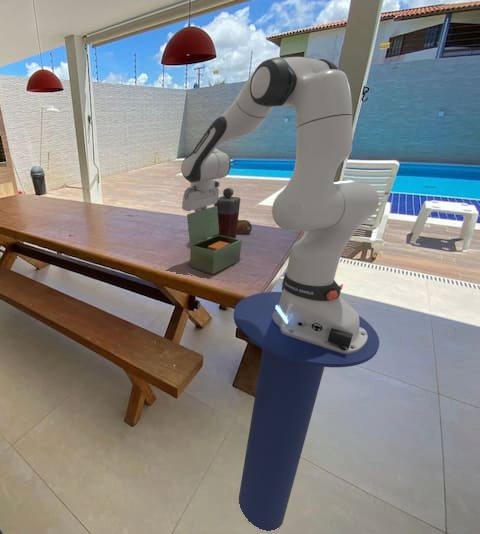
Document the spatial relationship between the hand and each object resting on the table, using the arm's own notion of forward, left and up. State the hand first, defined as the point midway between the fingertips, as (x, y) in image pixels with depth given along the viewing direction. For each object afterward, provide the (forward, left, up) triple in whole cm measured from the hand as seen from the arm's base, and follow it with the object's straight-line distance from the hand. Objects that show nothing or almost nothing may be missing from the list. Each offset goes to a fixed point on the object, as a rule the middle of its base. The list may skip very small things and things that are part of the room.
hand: (199, 217), depth 132 cm
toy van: (-10, -1, -18) cm, 21 cm away
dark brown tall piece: (+3, -25, -19) cm, 32 cm away
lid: (-3, 0, -3) cm, 4 cm away
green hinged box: (-9, 0, -19) cm, 21 cm away
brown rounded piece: (+7, -42, -19) cm, 47 cm away
